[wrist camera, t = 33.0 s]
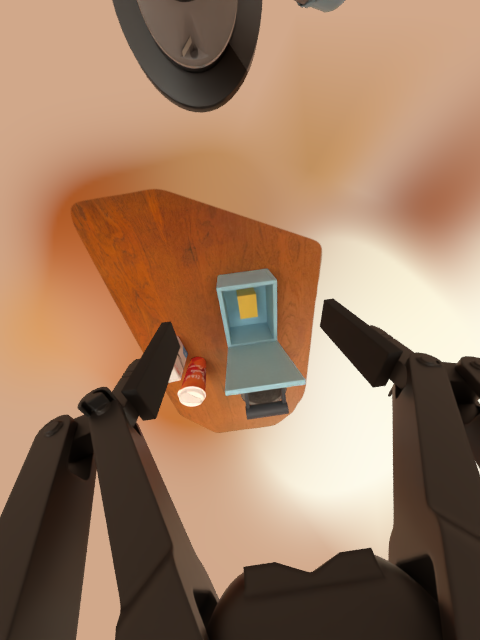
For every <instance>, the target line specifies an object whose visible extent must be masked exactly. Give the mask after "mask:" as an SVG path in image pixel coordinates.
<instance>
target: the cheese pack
mask: <svg viewBox="0 0 480 640" xmlns="http://www.w3.org/2000/svg"><path fill="white" fill-rule="evenodd" d="M236 292H237V299H238V306H239V312H240V319H246V318H252V317H258V311H257V299H256V293H255V290H254V288H253V287H252V288H246V289H239V290H236Z"/></svg>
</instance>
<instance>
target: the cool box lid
mask: <svg viewBox="0 0 480 640" xmlns="http://www.w3.org/2000/svg"><path fill="white" fill-rule="evenodd" d="M305 384H306V381H305V378H304V377H303V375H302V374H301V373H300V371H299V370H298V369H297V367H296V366H295V364H294V363H293V362H292V360H291V359H290V357H289V356H288V355H287V353H286V352H285V351H284V349H283V348H282V346H281V345H280V344H279V342H278V341H273V342H266V343H259V344H252V345H245V346H238V347H231V348H228V356H227V370H226V383H225V394H226V396H229V395H236V394H243V393H244V395H245V402H246V415H247V419H255V418H262V417H268V416H275V415H282V414H288V413H289V410H288V405H287V402H286V396H285V387H291V386H298V385H305ZM277 388H280V389H281V400H282V401H275V402H268V403H261V404H254V405H250V404H249V397H248V393H250V392H257V391H263V390H270V389H277Z"/></svg>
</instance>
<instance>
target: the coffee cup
mask: <svg viewBox="0 0 480 640" xmlns="http://www.w3.org/2000/svg"><path fill="white" fill-rule="evenodd" d="M205 384H206V361H205V359H203V358H201V357H194V358H192V359H191V360H190V363H189V366H188V369H187V372H186V375H185V378H184V381H183V384H182V387H181V390H180V391H179V392H178V396H179V400H180V402H181V403H182V404H183V405H186V406H198V405H200V404H201V403H202V402H203V400H204V399H205V397H206V393H205Z"/></svg>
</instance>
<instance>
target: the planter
mask: <svg viewBox="0 0 480 640" xmlns="http://www.w3.org/2000/svg"><path fill="white" fill-rule="evenodd" d="M286 389H287V388H286V387H285V393H286ZM241 397H242V399H243V400H244V401H245V395H244V393H243V394H241ZM248 397H249V404H250V405H254V404H261V403H268V402H275V401H279V400H280V399H281V389H280V388H277V389H270V390H263V391H257V392H250V393H248Z"/></svg>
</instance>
